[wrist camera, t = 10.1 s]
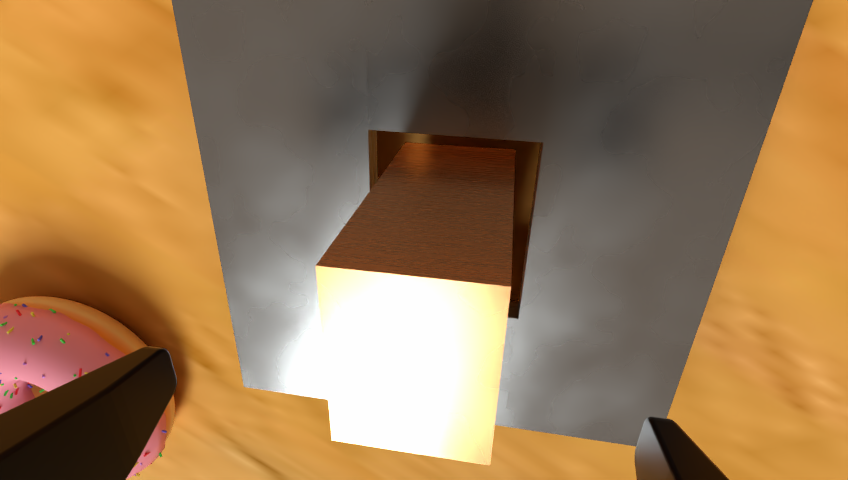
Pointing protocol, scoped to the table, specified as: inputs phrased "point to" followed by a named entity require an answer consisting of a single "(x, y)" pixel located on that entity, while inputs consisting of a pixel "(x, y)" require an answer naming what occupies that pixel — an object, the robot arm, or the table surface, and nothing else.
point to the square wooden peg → (421, 304)
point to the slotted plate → (507, 120)
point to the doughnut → (64, 354)
